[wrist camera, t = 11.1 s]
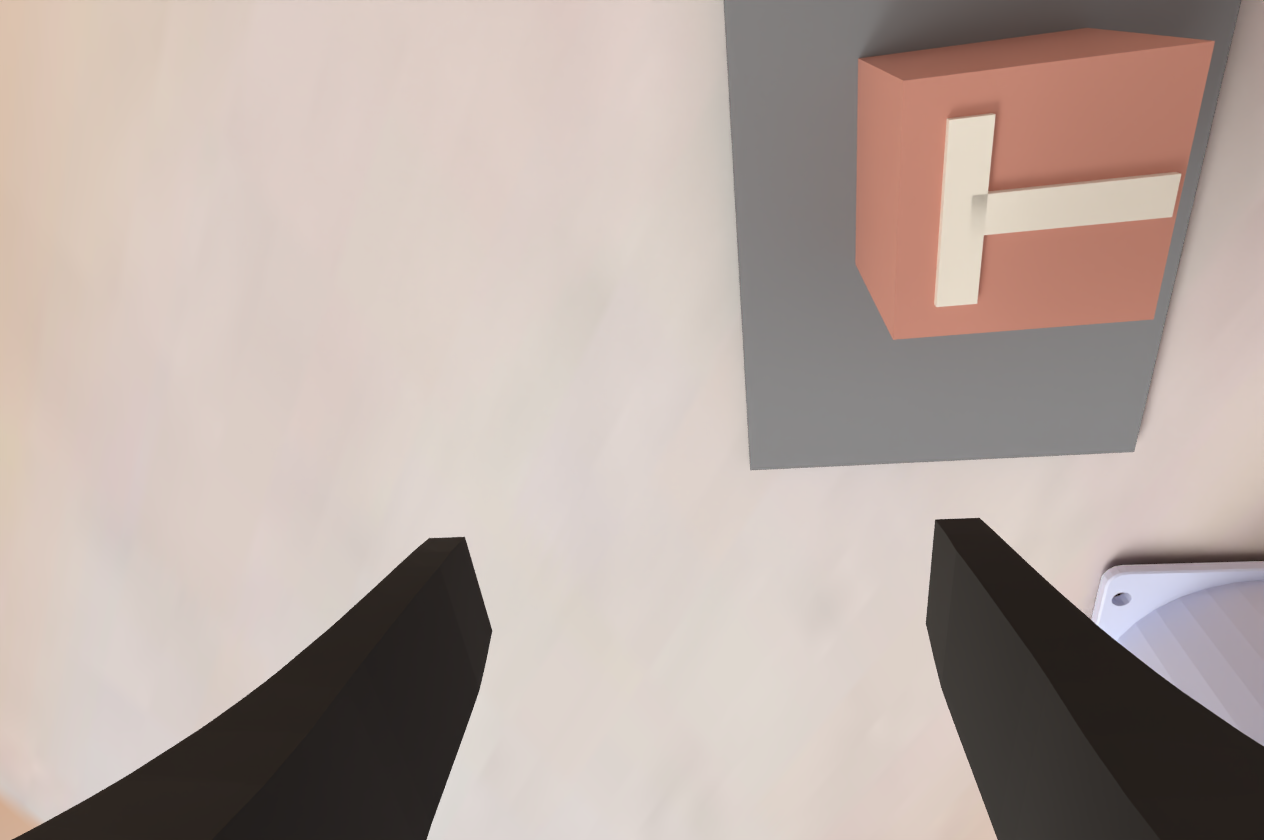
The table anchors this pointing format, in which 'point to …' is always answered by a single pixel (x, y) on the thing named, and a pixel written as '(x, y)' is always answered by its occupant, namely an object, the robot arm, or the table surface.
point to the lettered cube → (1023, 178)
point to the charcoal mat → (834, 289)
